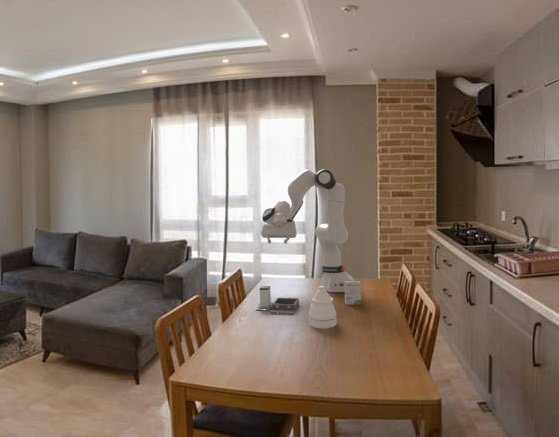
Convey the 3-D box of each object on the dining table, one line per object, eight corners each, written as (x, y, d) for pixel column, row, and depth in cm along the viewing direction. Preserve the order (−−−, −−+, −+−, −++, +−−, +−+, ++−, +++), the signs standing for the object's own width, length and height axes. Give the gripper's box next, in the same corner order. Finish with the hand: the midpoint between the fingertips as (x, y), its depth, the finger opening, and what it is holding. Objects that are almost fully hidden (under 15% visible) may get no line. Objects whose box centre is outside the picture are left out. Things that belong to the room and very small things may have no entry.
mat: (275, 303, 229) (275, 302, 229) (270, 310, 217) (270, 309, 217) (261, 303, 231) (261, 301, 231) (255, 310, 219) (255, 308, 219)
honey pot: (335, 329, 189) (334, 289, 187) (307, 327, 191) (305, 289, 189) (337, 319, 201) (336, 282, 199) (310, 318, 204) (309, 281, 202)
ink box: (345, 304, 223) (344, 282, 222) (344, 301, 228) (344, 280, 227) (361, 304, 222) (361, 282, 221) (360, 301, 227) (360, 280, 226)
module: (270, 304, 226) (270, 285, 225) (268, 306, 221) (268, 288, 220) (262, 304, 227) (261, 285, 226) (260, 306, 222) (259, 288, 221)
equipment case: (299, 304, 226) (298, 298, 225) (292, 314, 210) (292, 307, 209) (277, 304, 228) (277, 297, 228) (269, 313, 212) (269, 307, 212)
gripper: (262, 220, 247) (258, 239, 238) (296, 220, 242) (293, 239, 233) (264, 227, 251) (260, 246, 243) (298, 226, 247) (295, 246, 238)
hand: (277, 242), depth 238 cm, fingers open, 8 cm apart
